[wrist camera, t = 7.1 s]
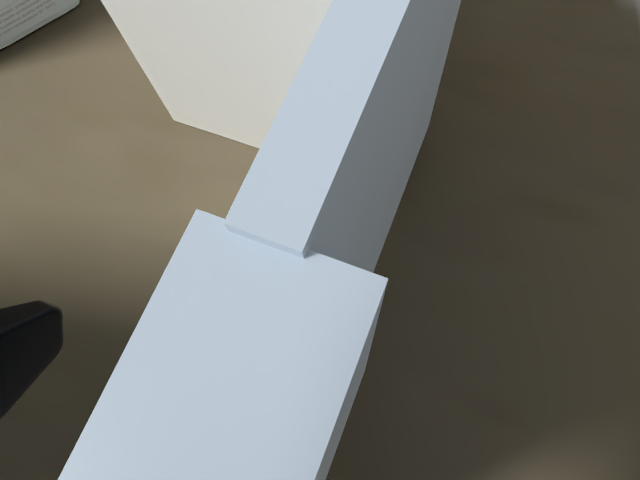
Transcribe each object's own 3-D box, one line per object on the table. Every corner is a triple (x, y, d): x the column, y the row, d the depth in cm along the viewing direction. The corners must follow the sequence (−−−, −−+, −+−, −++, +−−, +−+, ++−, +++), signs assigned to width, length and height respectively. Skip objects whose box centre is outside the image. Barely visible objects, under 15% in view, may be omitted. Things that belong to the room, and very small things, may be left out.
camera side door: (289, 580, 13) (46, 1210, 3) (222, 546, 13) (-220, 987, 3) (450, 132, 17) (597, -294, 7) (395, 116, 18) (457, -312, 7)
